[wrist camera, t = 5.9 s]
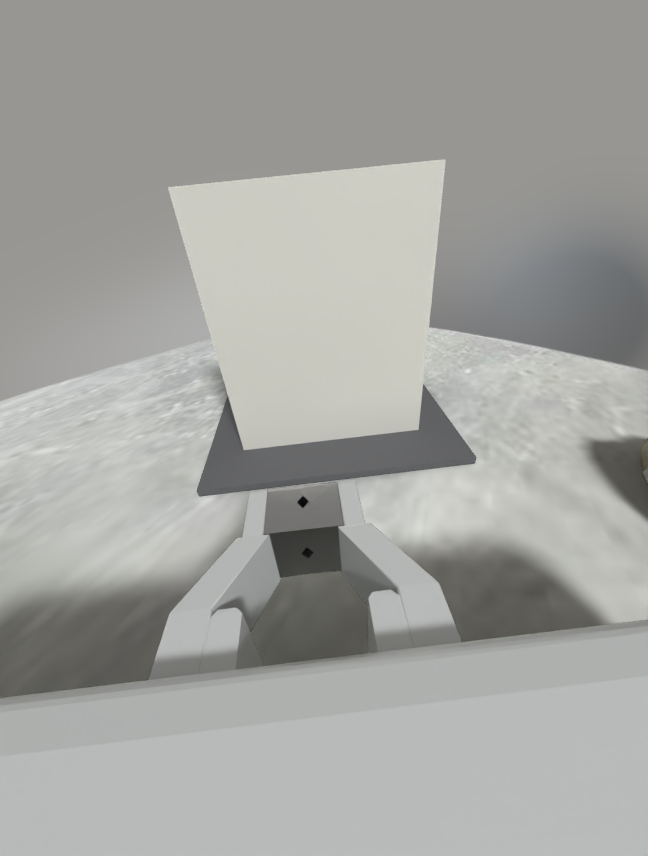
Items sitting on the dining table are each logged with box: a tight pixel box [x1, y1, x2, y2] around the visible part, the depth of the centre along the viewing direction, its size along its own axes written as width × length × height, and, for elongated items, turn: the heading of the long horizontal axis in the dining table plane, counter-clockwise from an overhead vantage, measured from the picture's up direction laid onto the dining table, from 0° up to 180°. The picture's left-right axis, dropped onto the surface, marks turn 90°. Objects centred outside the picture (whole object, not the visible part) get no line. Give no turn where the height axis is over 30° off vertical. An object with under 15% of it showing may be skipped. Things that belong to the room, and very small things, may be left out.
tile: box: [168, 160, 445, 450], centre depth 16 cm, size 2×10×12 cm, turn 94°
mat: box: [197, 385, 476, 496], centre depth 24 cm, size 18×14×1 cm
